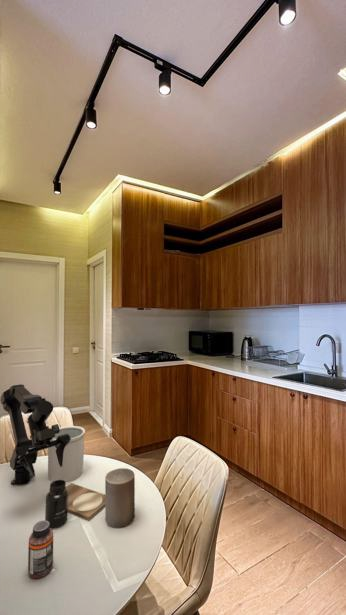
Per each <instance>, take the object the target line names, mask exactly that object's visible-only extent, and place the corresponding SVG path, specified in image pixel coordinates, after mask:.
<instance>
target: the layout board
mask: <svg viewBox="0 0 346 615" xmlns="http://www.w3.org/2000/svg"><path fill="white" fill-rule="evenodd" d="M66 490H67V491H68V514H70V515H73V516H75V517H78V518H79V519H83V520H85V521H88V522H90V521H91V520H92V519H93V518H94V517H95V516H97V514H99V513H100V512H101V511H102V510H103V509H104V508H105V494H104V493H101V492H99V491H95V490H93V489H90V488H87V487H84V486H81V485H78V484H75V483H72V482H70V483H69V484H68V485H66Z"/></svg>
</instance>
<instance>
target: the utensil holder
mask: <svg viewBox="0 0 346 615" xmlns="http://www.w3.org/2000/svg"><path fill="white" fill-rule="evenodd" d="M59 430H60V432H59V433H57V434H55V437H53V439H52V440H50V442H51V441H54V440H56V439H57V438H58V436H61V435H64V434H68V435H70V438H71V440H70V442H69V443H68V444H67V446H66V447H65V448H64V453H63V464H62V467H60V465H59V462H58V459H57V455H56V451H55V450H56V449H57V448H56V447H55V446H53V447H50V448H47V449H48V450H47V452H48V453H47V477H48V480H49V481H51V483H52V482H54V481H56V480H64V481H65V482H66V483H69V482H70V483H71V482H73V481H75V480H77V479H78V478H80V477H81V476H82V475H83V470H84V457H85V456H84V454H85V453H84V452H85V436H86V430H85V428H83V427H82V426H77V425H67V426H66V425H65V426H61V427H60V426H59Z"/></svg>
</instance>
